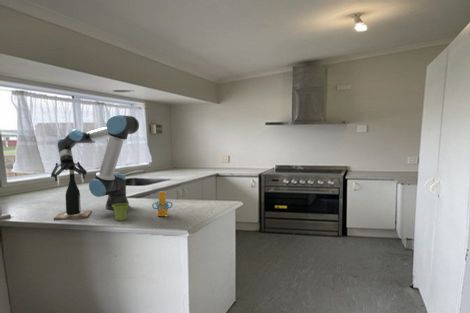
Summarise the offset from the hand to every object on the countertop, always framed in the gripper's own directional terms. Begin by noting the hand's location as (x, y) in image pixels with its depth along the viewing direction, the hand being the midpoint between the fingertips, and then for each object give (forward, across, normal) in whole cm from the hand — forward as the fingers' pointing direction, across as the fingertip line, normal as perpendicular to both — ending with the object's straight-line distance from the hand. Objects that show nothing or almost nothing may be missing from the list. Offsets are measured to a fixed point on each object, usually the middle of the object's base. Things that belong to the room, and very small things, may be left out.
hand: (71, 183), depth 201 cm
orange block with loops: (+39, -45, +12) cm, 60 cm away
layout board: (+16, 0, -12) cm, 20 cm away
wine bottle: (+15, 0, -11) cm, 19 cm away
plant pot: (+34, -22, +7) cm, 41 cm away
